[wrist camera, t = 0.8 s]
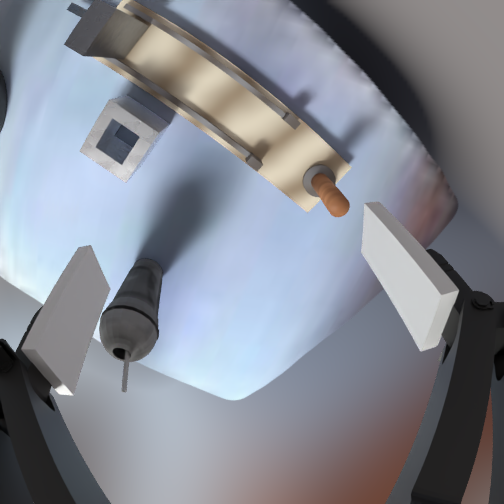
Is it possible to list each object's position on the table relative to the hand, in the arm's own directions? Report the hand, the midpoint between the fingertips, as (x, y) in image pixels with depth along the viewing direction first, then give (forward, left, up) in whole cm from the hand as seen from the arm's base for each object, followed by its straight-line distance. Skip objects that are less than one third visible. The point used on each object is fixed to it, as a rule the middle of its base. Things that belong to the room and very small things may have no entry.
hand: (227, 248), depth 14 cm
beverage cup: (+2, -22, -24) cm, 32 cm away
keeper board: (-4, +3, -24) cm, 24 cm away
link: (-10, -6, -24) cm, 26 cm away
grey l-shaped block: (-21, +3, -22) cm, 31 cm away
